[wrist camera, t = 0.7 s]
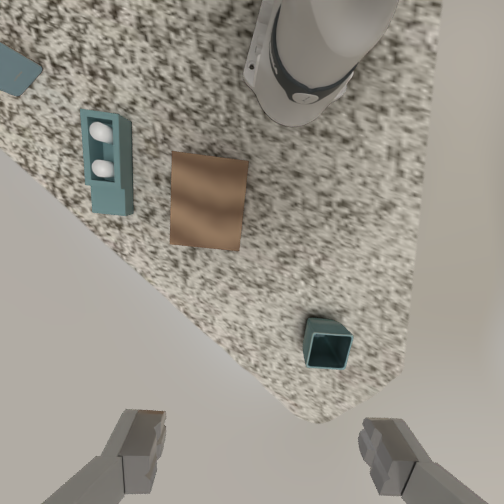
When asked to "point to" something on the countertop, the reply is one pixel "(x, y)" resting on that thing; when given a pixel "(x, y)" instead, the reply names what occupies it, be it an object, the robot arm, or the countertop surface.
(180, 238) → the nook
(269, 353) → the countertop surface
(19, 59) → the smartphone
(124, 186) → the tray
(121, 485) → the robot arm
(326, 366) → the flower pot
